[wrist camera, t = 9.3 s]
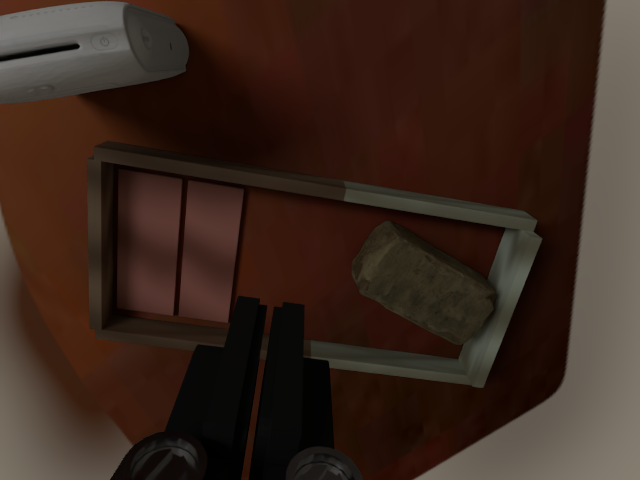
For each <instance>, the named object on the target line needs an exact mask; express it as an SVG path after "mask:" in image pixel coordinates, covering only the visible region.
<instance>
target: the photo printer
mask: <svg viewBox="0 0 640 480" xmlns="http://www.w3.org/2000/svg"><path fill="white" fill-rule="evenodd" d="M188 58H189V47H188V42H187V39H186V37H185V35H184V34H183V32H182V31H181V30H180V29H179V28H178V27H177V26H176V25H175V21H174V19H172V18H171V17H168V16H166V15H163V14H160V13H157V12H154V11H151V10H148V9H145V8H142V7H139V6H136V5H133V4H129V3H124V2H113V1H101V2H87V3H77V4H69V5H61V6H54V7H47V8H41V9H35V10H29V11H24V12H18V13H13V14H8V15H3V16H0V104H12V103H26V102H31V101H38V100H45V99H52V98H59V97H65V96H71V95H77V94H83V93H88V92H93V91H99V90H105V89H112V88H118V87H124V86H130V85H136V84H142V83H147V82H152V81H159V80H161V79H166V78H170V77H173V76H176V75H178V74H181V73H183V72H185V71H186V66H185V65H186V63H187V61H188Z"/></svg>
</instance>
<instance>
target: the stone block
mask: <svg viewBox="0 0 640 480" xmlns="http://www.w3.org/2000/svg"><path fill="white" fill-rule="evenodd" d="M351 272H352V276H353V278H354V281H355V283H356V284H357V286H358V288H359V292H360V294H362V295H364V296H366V297H369V298H371V299H373V300H376V301H378V302H379V303H381V304H382V305H383V306H384V307H385V308H386V309H388V310H390V311H393V312H395V313H397V314H399V315H400V316H402V317H404V318H406V319H407V320H409V321H411V322H413V323H415V324H417V325H418V326H420V327H422V328H424V329H426V330H428V331H430V332H432V333H434V334H436V335H438V336H441V337H443V338H444V339H446V340H448V341H450V342H452V343H454V344H456V345H462V344H464V343H466V342H467V341H468V340H470V339H471V338H472V337H473V335H474V334H475V332H476V331H478V330H479V329H480V328H481V327H482V324H483V322H484V321H485V319H486V318H487V317H488V316H489V314H490V313H491V312H492V310H493V309H494V307H493V301H494V300H495V298H496V296H497V293H496V291H495V290H494V288H493V287H492V286H491V285H490V284H489V282H488V281H487V280H486V278H485V277H484V276H483V275H481V274H480V273H478V272H476V271H475V270H473V269H471V268H470V267H468V266H466V265H464V264H463V263H461V262H459V261H458V260H456V259H454V258H453V257H451V256H449V255H447V254H446V253H444V252H442V251H440V250H438V249H436V248H434V247H433V246H432V245H430V244H429V243H427V242H425V241H423V240H422V239H420V238H419V237H417V236H416V235H415V234H413V233H412V232H410V231H409V230H407V229H405V228H404V227H402V226H400V225H398V224H395V223H393V222H391V221H389V220H387V221H385V222H383V223H382V224H380V225H379V226H377V227H376V228H375V229H374V230H373V231H372V232H371V234H370V236H369V237H368V239H367V240H365V242H364V244H363V246H362V248H361V250H360V252H359V253H358V255H357V256H356V257H355V258H354V260H353V262H352V270H351Z"/></svg>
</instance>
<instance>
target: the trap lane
mask: <svg viewBox="0 0 640 480" xmlns="http://www.w3.org/2000/svg"><path fill="white" fill-rule="evenodd" d="M114 163H115V164H121V165H127V166H133V167H139V168H145V169H152V170H158V171H164V172H170V173H176V174H182V175H188V176H194V177H201V178H207V179H213V180H219V181H225V182H231V183H237V184H243V185H249V186H256V187H262V188H268V189H274V190H280V191H286V192H292V193H298V194H305V195H311V196H317V197H323V198H329V199H335V200H341V201H347V202H353V203H360V204H366V205H372V206H378V207H384V208H390V209H396V210H402V211H409V212H415V213H421V214H427V215H433V216H439V217H445V218H451V219H457V220H464V221H470V222H476V223H482V224H488V225H494V226H500V227H506V229H505V232H504V234H503V237H502V240H501V243H500V245H499V248H498V251H497V254H496V257H495V259H494V262H493V265H492V268H491V270H490V273H489V276H488V279H487V281H488V282H489V284H490V285H491V286H492V287H493V288H494V290H495V291H496V293H497V296H496V298H495V300H494V301H493V307H494V309H493V310H492V312H491V313H490V314H489V316H488V317H487V318H486V319H485V321H484V322H483V324H482V327H481V328H480V329H479V330H478V331H476V332H475V334H474V335H473V337H472V338H471V339H470V340H468V341H467V342H466V343H464V345H463V348H462V351H461V354H460V356H459V359H453V358H445V357H438V356H430V355H422V354H414V353H407V352H399V351H391V350H383V349H376V348H368V347H360V346H353V345H345V344H337V343H329V342H322V341H314V340H306V339H304V355H303V357H305V358H313V359H321V360H328V361H329V367H330V368H337V369H345V370H353V371H361V372H369V373H378V374H386V375H394V376H402V377H410V378H418V379H426V380H434V381H442V382H451V383H459V384H467V385H472V386H473V387H480V388H483V387H484V384H485V382H486V379H487V377H488V374H489V372H490V369H491V367H492V364H493V362H494V359H495V357H496V354H497V352H498V349H499V347H500V344H501V342H502V339H503V337H504V334H505V332H506V329H507V326H508V324H509V321H510V319H511V316H512V314H513V311H514V309H515V306H516V304H517V301H518V299H519V296H520V294H521V291H522V289H523V286H524V284H525V281H526V279H527V276H528V274H529V271H530V269H531V266H532V264H533V261H534V259H535V256H536V254H537V251H538V249H539V246H540V243H541V241H542V238H541V237H539V236H538V235H537V234H535V233H534V232H533V231H534V229H535V226H536V223H537V220H536V219H534V218H533V217H532V216H530V215H529V214H527V213H526V212H524V211H521V210H515V209H509V208H503V207H497V206H492V205H486V204H480V203H474V202H468V201H462V200H456V199H450V198H444V197H438V196H432V195H426V194H420V193H414V192H408V191H402V190H396V189H391V188H385V187H379V186H373V185H367V184H361V183H355V182H349V181H343V180H337V179H331V178H325V177H319V176H313V175H307V174H301V173H295V172H290V171H284V170H278V169H272V168H266V167H260V166H254V165H248V164H242V163H236V162H230V161H224V160H218V159H212V158H206V157H200V156H194V155H189V154H183V153H177V152H171V151H165V150H159V149H153V148H147V147H141V146H135V145H129V144H123V143H117V142H111V141H106V142H104V143H102V144H99V145H97V146H95V147H94V156H92V157H90V158H88V159H87V189H88V254H89V320H90V329H96V339H102V340H110V341H118V342H126V343H134V344H142V345H151V346H159V347H167V348H175V349H183V350H191V351H194V350H195V348H196V346H197V345H198V344H201V345H209V346H217V347H224V345H225V341H226V338H227V334H228V331H229V329H221V328H213V327H206V326H198V325H190V324H182V323H175V322H167V321H159V320H151V319H144V318H136V317H128V316H120V315H113V231H114ZM182 190H183V178H181V177H174V176H168V175H162V174H156V173H150V172H144V171H138V170H131V169H125V168H119V169H118V255H117V308H119V309H127V310H134V311H142V312H149V313H157V314H165V315H172V316H173V315H174V309H175V294H176V279H177V264H178V249H179V234H180V220H181V205H182ZM243 196H244V188H242V187H236V186H230V185H224V184H217V183H211V182H205V181H199V180H193V179H189V180H188V192H187V206H186V220H185V234H184V248H183V262H182V275H181V289H180V303H179V316H180V317H188V318H195V319H203V320H211V321H218V322H226V323H228V320H229V311H230V303H231V295H232V287H233V278H234V270H235V262H236V254H237V245H238V237H239V229H240V221H241V212H242V204H243ZM269 336H270V335H267V334H263V338H262V345H261V352H260V359H264V360H266V356H267V349H268V343H269Z"/></svg>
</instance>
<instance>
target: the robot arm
mask: <svg viewBox="0 0 640 480" xmlns="http://www.w3.org/2000/svg"><path fill="white" fill-rule="evenodd" d="M259 302H260V299H258V298H251V297H243V296H238V298H237V302H236V305H235V309H234V313H233V316H232V320H231V323H230V327H229V331H228V334H227V338H226V341H225V345H224V347H217V346H209V345H201V344H198V345H197V346H196V348H195V350H194V353H193V356H192V358H191V361H190V364H189V366H188V369H187V372H186V375H185V377H184V380H183V383H182V385H181V388H180V391H179V394H178V396H177V399H176V402H175V404H174V407H173V410H172V413H171V415H170V418H169V421H168V423H167V426H166V429H165V431H163V432H157V433H154V434H152V435H149V436H147V437H145V438H143V439H142V440H140V441H139V442H137V443H136V444H135V445H134V446H133V447H132V448H131V449H130V450H129V452H128V453H127V454H126V455H125V457H124V458H123V460H122V461H121V463H120V465H119V466H118V468H117V470H116V471H115V473H114V474H113V476H112V477H111V479H110V480H241V476H242V470H243V463H244V457H245V450H246V444H247V438H248V431H249V425H250V419H251V412H252V406H253V399H254V393H255V386H256V379H257V372H258V366H259V359H260V352H261V345H262V338H263V332H264V325H265V318H266V311H267V305H260V304H259ZM304 308H305V307H304V305H302V304H295V303H288V302H283V306H282V307H274V311H273V317H272V323H271V330H270V336H269V343H268V349H267V356H266V362H265V369H264V375H263V382H262V388H261V395H260V402H259V409H258V416H257V423H256V431H255V438H254V445H253V452H252V459H251V467H250V474H249V480H363V478H362V476H361V474H360V471H359V469H358V467H357V466H356V465H355V464H354V463H353V461H352V460H351V459H350V458H349V457H347V456H346V455H344V454H343V453H342V452H340V451H337V450H335V449H334V436H333V419H332V401H331V384H330V367H329V361H328V360H321V359H313V358H305V357H303V355H304Z"/></svg>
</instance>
